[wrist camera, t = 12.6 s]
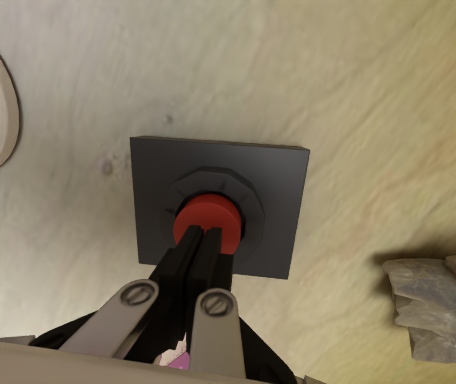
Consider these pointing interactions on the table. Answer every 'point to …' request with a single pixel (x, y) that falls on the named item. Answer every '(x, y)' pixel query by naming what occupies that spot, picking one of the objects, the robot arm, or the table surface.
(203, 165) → the button base
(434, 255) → the table surface
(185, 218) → the button
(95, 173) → the table surface
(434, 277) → the grey rock
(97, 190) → the table surface
